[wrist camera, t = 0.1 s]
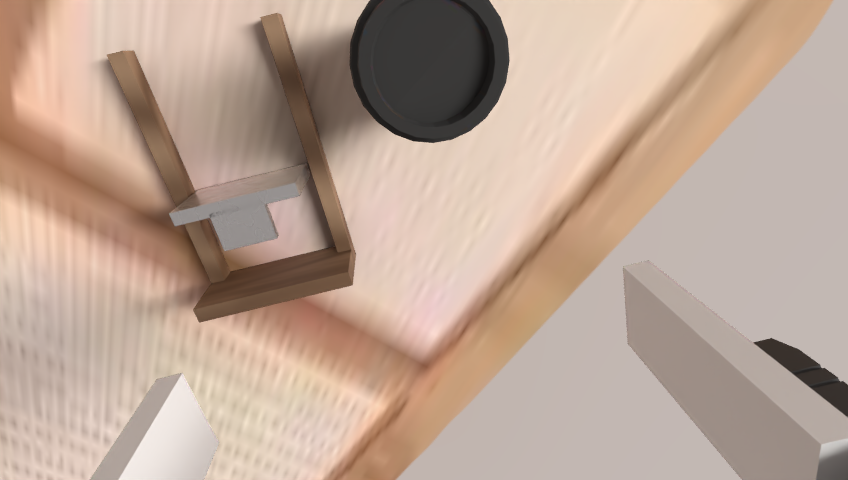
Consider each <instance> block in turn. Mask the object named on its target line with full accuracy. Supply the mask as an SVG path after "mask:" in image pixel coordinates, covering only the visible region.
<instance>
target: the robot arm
mask: <svg viewBox="0 0 848 480" xmlns="http://www.w3.org/2000/svg"><path fill="white" fill-rule="evenodd" d="M623 274H624V289H625V290H624V291H625V308H626V324H627V338H628V345H629V346H630V347H631V348H632V349H633V351H634V352H635V353H636V354H637V355H638V357H639V358H640V359H641V360H642V361H643V362H644V364H645V365H646V366H647V367H648V368H649V370H650V371H651V372H652V373H653V374H654V375H655V377H656V378H657V379H658V380H659V382H660V383H661V384H662V385H663V386H664V387H665V389H666V390H667V391H668V392H669V393H670V395H671V396H672V397H673V398H674V399H675V401H676V402H677V403H678V404H679V405H680V407H681V408H682V409H683V410H684V411H685V413H686V414H687V415H688V416H689V417H690V418H691V420H692V421H693V422H694V423H695V424H696V426H697V427H698V428H699V429H700V430H701V432H702V433H703V434H704V435H705V436H706V437H707V439H708V440H709V441H710V442H711V443H712V444H713V446H714V447H715V448H716V449H717V451H718V452H719V453H720V454H721V455H722V457H724V459H725V460H726V461H727V462H728V464H729V465H730V466H731V467H732V468H733V470H734V471H735V472H736V473H737V474H738V476H739V477H740V478H741V479H742V480H848V385H847V384H846V383H845V382H843V381H842V382H840V381H839V379H838V377H836V376H835V375H833V374H832V373H831V372H829V371H828V370H827V369H825V368H821V366H820V364H818V363H817V362H815V361H814V360H813V359H811V358H810V357H808V356H807V355H806V354H804V353H803V352H802V351H800V350H799V349H796V348H794V347H792V346H789V345H787V344H784V343H782V342H779V341H777V340H774V339H772V338H770V339H766V340H762V341H758V342H754V343H753V342H752V341H750V340H749V339H748V338H746V337H745V336H744V335H742V334H741V333H740V332H739V331H738V330H736V329H735V328H734V327H733V326H731V325H730V324H729V323H727V322H726V321H725V320H723V319H722V318H721V317H720V316H719V315H717V314H716V313H715V312H714V311H712V310H711V309H710V308H708V307H707V306H706V305H705V304H703V303H702V302H701V301H699V300H698V299H697V298H696V297H694V296H693V295H692V294H691V293H689V292H688V291H687V290H686V289H684V288H683V287H682V286H681V285H679V284H678V283H677V282H675V281H674V280H673V279H672V278H670V277H669V276H668V275H667V274H665V273H664V272H663V271H661V270H660V269H659V268H658V267H657V266H655V265H654V264H653V263H651V262H650V261H649V260H648V261H644V262H640V263H635V264H631V265H627V266H623ZM218 444H219V441H218V439H217V438H216V436H215V434H214V432H213V430H212V428H211V426H210V424H209V422H208V420H207V419H206V417H205V415H204V413H203V411H202V409H201V407H200V405H199V403H198V402H197V400H196V398H195V396H194V394H193V392H192V390H191V388H190V386H189V385H188V383H187V381H186V379H185V377H184V375H183V373H180V374H176V375H172V376H168V377H164V378H160V379H157V380H156V381H155V383H154V384H153V386H152V387H151V389H150V390H149V392H148V393H147V395H146V396H145V398H144V399H143V401H142V402H141V404H140V405H139V407H138V408H137V410H136V411H135V413H134V414H133V416H132V417H131V419H130V420H129V422H128V423H127V425H126V426H125V428H124V429H123V431H122V432H121V434H120V435H119V437H118V438H117V440H116V441H115V443H114V444H113V446H112V447H111V449H110V450H109V452H108V453H107V455H106V456H105V458H104V459H103V461H102V462H101V464H100V465H99V467H98V468H97V470H96V471H95V473H94V474H93V476H92V477H91V479H90V480H204V479H205V476H206V474H207V471H208V469H209V466H210V464H211V461H212V459H213V456H214V454H215V451H216V449H217V446H218Z"/></svg>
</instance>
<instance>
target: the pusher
mask: <svg viewBox="0 0 848 480" xmlns="http://www.w3.org/2000/svg"><path fill="white" fill-rule="evenodd" d="M310 175H311V174H310V171H309V168H308V165H307V163H306V164H302V165H298V166H293V167H289V168H285V169H281V170H277V171H273V172H269V173H265V174H261V175H257V176H253V177H248V178H244V179H240V180H236V181H232V182H228V183H224V184H220V185H216V186H212V187H207V188H203V189H199V190H197V191H196V192H195V193H194V194H193V195H191V196H190V197H189V198H188V199H186V200H185V201H184V202H183V203H181V204H180V205H179V206H178V207H176V208H175V209H174V210H173V211H171V212H170V213H169V215H170V217H171V219H172V221H173V223H174V226H178V225H182V224H186V223H191V222H195V221H199V220H203V219H207V218H210V219H211V221H212V223H213V226H214V228H215V230H216V233H217V235H218V237H219V239H220V242H221V244H222V246H223V249H224V251H227V250H231V249H235V248H239V247H244V246H248V245H252V244H256V243H260V242H264V241H268V240H272V239H276V238H278V236H279V235H278V232H277V229H276V227H275V224H274V221H273V219H272V216H271V213H270V211H269V208H268V205H267V204H268V203H272V202H277V201H281V200H285V199H289V198H293V197H297V196H300V194H301V192H302V190H303V188H304V187H305V185H306V183H307V181H308V179H309V177H310Z"/></svg>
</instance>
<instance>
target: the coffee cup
mask: <svg viewBox="0 0 848 480" xmlns="http://www.w3.org/2000/svg"><path fill="white" fill-rule="evenodd" d="M508 66H509V49H508V38H507V35H506V32H505V29H504V26H503V24H502V21H501V18H500V16H499V15H498V13H497V12H496V10H495V9H494V7H493V5H492V4H491V2H490V1H489V0H370V1H369V2H368V4H367V6H366V7H365V9H364V10H363V12H362V14H361V15H360V17H359V19H358V20H357V23H356V26H355V29H354V33H353V36H352V39H351V45H350V69H351V74H352V79H353V84H354V87H355V89H356V91H357V93H358V95H359V98H360V100H361V102H362V104H363V106H364V107H365V108H366V109H367V110H368V112H369V113H370V114H371V115H372V116H373V118H374V119H375V120H376V121H377V122H378V123H379V124H381V125H382V126H384V127H385V128H387V129H388V130H389V131H391V132H392V133H394V134H395V135H398V136H401V137H403V138H406V139H409V140H412V141H417V142H429V143H435V142H440V141H446V140H452V139H454V138H456V137H458V136H460V135H463V134H465V133H467V132H469V131H471V130H472V129H473V128H474V127H475V126H477V125H478V124H479V123H480V122H482V121H483V120H484V119H485V118H486V117H487V116H488V114H489V113H490V111H491V110H492V109H493V107H494V106H495V105H496V103H497V102H498V100H499V97H500V95H501V93H502V90H503V88H504V86H505V83H506V79H507V73H508Z"/></svg>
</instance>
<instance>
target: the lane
mask: <svg viewBox="0 0 848 480" xmlns="http://www.w3.org/2000/svg"><path fill="white" fill-rule="evenodd" d="M260 18H261V21H262V24H263V27H264V30H265V33H266V36H267V39H268V42H269V45H270V48H271V51H272V54H273V57H274V60H275V63H276V66H277V69H278V72H279V75H280V78H281V81H282V85H283V88H284V91H285V94H286V97H287V100H288V103H289V106H290V109H291V112H292V115H293V118H294V121H295V124H296V127H297V130H298V133H299V136H300V139H301V142H302V145H303V148H304V152H305V155H306V158H307V161H308V164H309V167H310V170H311V173H312V176H313V179H314V182H315V185H316V188H317V191H318V194H319V197H320V200H321V203H322V206H323V209H324V212H325V216H326V219H327V222H328V225H329V228H330V231H331V234H332V237H333V240H334V243H335V247H330V248H326V249H322V250H318V251H314V252H310V253H306V254H302V255H298V256H294V257H289V258H285V259H281V260H277V261H273V262H269V263H265V264H261V265H257V266H253V267H248V268H244V269H240V270H236V271H232V272H230V270H229V268H228V265H227V263H226V261H225V259H224V256H223V254H222V252H221V249H220V247H219V245H218V243H217V240H216V238H215V236H214V233H213V231H212V229H211V227H210V224H209V222H208V220H207V219H203V220H199V221H195V222H191V223H186V224H184V225H185V227H186V229H187V231H188V233H189V236H190V238H191V240H192V242H193V244H194V247H195V249H196V251H197V253H198V255H199V257H200V260H201V262H202V264H203V266H204V268H205V270H206V273H207V275H208V277H209V279H210V281H211V285H210V286H209V288H208V289H207V290H206V292H205V293H204V295H203V296H202V298H201V299H200V301H199V302H198V303H197V305H196V306H195V308H194V309H193V311H194V313H195V315H196V317H197V319H198V321H199V322H203V321H208V320H212V319H216V318H220V317H224V316H228V315H232V314H236V313H240V312H244V311H249V310H253V309H257V308H261V307H265V306H269V305H273V304H277V303H281V302H286V301H290V300H294V299H298V298H302V297H306V296H310V295H314V294H318V293H322V292H327V291H331V290H335V289H339V288H343V287H347V286H351V285H353V277H354V267H355V258H356V253H355V250H354V247H353V243H352V240H351V237H350V234H349V230H348V227H347V224H346V221H345V218H344V214H343V211H342V208H341V205H340V202H339V198H338V195H337V192H336V189H335V186H334V182H333V179H332V176H331V173H330V170H329V166H328V163H327V160H326V157H325V153H324V150H323V147H322V144H321V141H320V137H319V134H318V131H317V128H316V125H315V121H314V118H313V115H312V112H311V109H310V105H309V102H308V99H307V96H306V93H305V89H304V86H303V83H302V80H301V77H300V73H299V70H298V67H297V64H296V60H295V57H294V54H293V51H292V48H291V44H290V41H289V38H288V35H287V32H286V28H285V25H284V22H283V19H282V16H281V14H278V13H275V14H271V15H267V16H263V17H260ZM107 57H108V59H109V61H110V64H111V66H112V68H113V70H114V72H115V74H116V77H117V79H118V81H119V83H120V85H121V88H122V90H123V92H124V94H125V96H126V98H127V101H128V103H129V105H130V107H131V109H132V111H133V114H134V116H135V118H136V120H137V122H138V125H139V127H140V129H141V131H142V133H143V135H144V138H145V140H146V142H147V144H148V146H149V149H150V151H151V153H152V155H153V157H154V159H155V162H156V164H157V166H158V168H159V170H160V172H161V175H162V177H163V179H164V181H165V183H166V186H167V188H168V190H169V192H170V194H171V196H172V199H173V201H174V203H175V205H176V207H178V206H179V205H180V204H181V203H183V202H184V201H185V200H186V199H188V198H189V197H190V196H191V195H193V194H194V193H195V190H194V188H193V185H192V183H191V181H190V178H189V176H188V174H187V172H186V169H185V167H184V165H183V162H182V160H181V158H180V155H179V153H178V151H177V149H176V146H175V144H174V142H173V139H172V137H171V135H170V133H169V130H168V128H167V126H166V123H165V121H164V119H163V116H162V114H161V112H160V110H159V107H158V105H157V103H156V100H155V98H154V96H153V94H152V91H151V89H150V87H149V84H148V82H147V80H146V78H145V75H144V73H143V71H142V68H141V66H140V64H139V61H138V59H137V57H136V55H135V52H134V51H120V52H116V53H112V54H108V55H107Z"/></svg>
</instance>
